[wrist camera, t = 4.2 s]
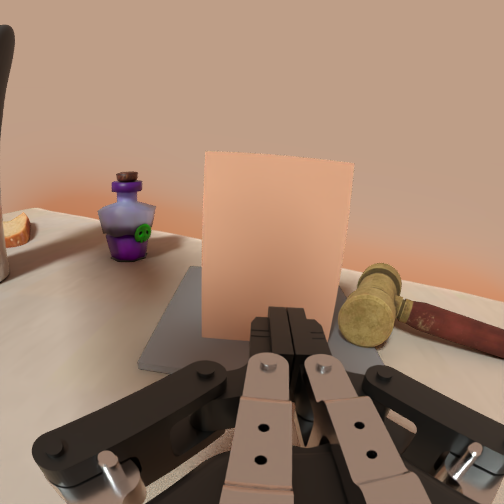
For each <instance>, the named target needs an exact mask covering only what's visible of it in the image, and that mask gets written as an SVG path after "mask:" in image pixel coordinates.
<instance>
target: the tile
mask: <svg viewBox="0 0 504 504" xmlns="http://www.w3.org/2000/svg"><path fill="white" fill-rule="evenodd" d="M353 173H354V163H348V162H341V161H333V160H324V159H315V158H305V157H294V156H284V155H271V154H256V153H240V152H218V151H206V152H205V170H204V194H203V225H202V337H204V338H215V339H228V340H242V341H250V329H251V322H252V321H253V320H254V318H255V317H267V315H268V307H269V306H274V307H295V308H304V311H305V315H306V318H307V319H315V320H316V321H317V322H318V323H319V324H320V325H322V328H323V331H324V334H325V337H326V340H327V342H328V338H329V333H330V328H331V323H332V318H333V313H334V308H335V302H336V297H337V291H338V286H339V280H340V274H341V268H342V261H343V254H344V247H345V241H346V234H347V226H348V219H349V210H350V202H351V193H352V183H353Z"/></svg>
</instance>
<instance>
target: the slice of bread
mask: <svg viewBox="0 0 504 504" xmlns="http://www.w3.org/2000/svg"><path fill="white" fill-rule="evenodd" d="M3 228H4V237H5V245H6V248H10V247H17V246H21V245H24V244H26V243H27V241H28V240H29V238H30V221H29V219H28V217H27V216H26V214H25V213H24V212H23V213H22V214H21V215H19V216H18V217H16V218H14V219H13V220H11V221H8V222H3Z"/></svg>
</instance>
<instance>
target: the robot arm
mask: <svg viewBox="0 0 504 504" xmlns="http://www.w3.org/2000/svg"><path fill="white" fill-rule="evenodd" d="M14 45H15V36H14V31H13V29H12V27H10V26H9V25H0V135H1V125H2V117H3V108H4V99H5V93H6V88H7V82H8V78H9V73H10V69H11V64H12V59H13V53H14ZM8 274H9V265H8V259H7V252H6V245H5V237H4V228H3V219H2V207H1V190H0V281H2V280H3V279H5V278H6V277H7V276H8ZM292 402H295V411H294V416H293V418H294V423H295V427H296V432H297V436H298V440H299V445H300V447H297V446H292ZM390 409H391V410H393V411H395V412H396V413H398V414H400V415H402V416H403V417H405V418H407V419H408V420H410V421H412V422H413V423H414V424H415V425H416V427H417V433H416V434H414V433H412V432H410V431H408V430H407V429H405V428H403V427H402V426H400V425H398V424H397V423H395V422H393V421H392V420H390V419H388V418H387V415H388V413H389V411H390ZM229 428H235V430H234V436H233V441H232V446H231V451H228V452H224V453H221V454H218V455H216V456H213V457H211V458H209V459H208V460H206V461H204V462H203V463H201V464H200V465H198V466H197V467H196V468H195V469H193V470H192V471H191V472H189V473H188V474H187V475H185V476H184V477H183V478H181V479H180V480H179V481H177V482H176V483H174V484H173V485H172V486H170V487H169V488H168V489H166V490H165V491H163V492H162V493H160V494H159V495H157V496H156V497H155V498H153V499H152V500H150V501H149V502H147V503H146V504H492V502H493V500H494V498H495V496H496V493H497V491H498V489H499V487H500V484H501V482H502V479H503V477H504V425H503V424H501V423H498V422H496V421H494V420H492V419H490V418H488V417H486V416H484V415H482V414H480V413H478V412H476V411H474V410H472V409H470V408H468V407H466V406H464V405H462V404H460V403H458V402H456V401H454V400H452V399H451V398H449V397H447V396H445V395H443V394H441V393H439V392H437V391H435V390H433V389H431V388H429V387H427V386H426V385H424V384H422V383H420V382H418V381H416V380H414V379H412V378H410V377H408V376H407V375H405V374H403V373H401V372H399V371H397V370H395V369H394V368H391V367H389V366H385V365H374V366H371V367H369V368H368V369H367V370H366V373H365V375H363V374H358V373H353V372H349V371H346V370H345V369H344V367H343V364H342V363H341V362H340V361H339V360H338V359H337V358H335V357H333V356H332V354H331V351H330V348H329V345H328V342H327V340H326V337H325V334H324V331H323V328H322V325H320V324H319V323H318V322H317V321H316V320H315V319H307V318H306V315H305V311H304V308H295V307H274V306H269V307H268V315H267V317H255V318H254V320H253V321H252V322H251V329H250V342H249V360H248V363H247V364H246V365H245V366H243V367H241V368H239V369H235V370H230V371H226V369H225V367H223V366H222V365H221V364H219V363H217V362H214V361H209V360H202V361H196V362H193V363H191V364H189V365H187V366H186V367H184V368H182V369H180V370H178V371H176V372H174V373H172V374H170V375H168V376H167V377H165V378H163V379H161V380H159V381H157V382H155V383H153V384H151V385H149V386H147V387H145V388H143V389H141V390H139V391H137V392H135V393H133V394H131V395H129V396H127V397H125V398H123V399H121V400H118V401H116V402H114V403H112V404H110V405H108V406H106V407H104V408H101V409H99V410H97V411H95V412H93V413H91V414H88V415H86V416H84V417H82V418H80V419H77V420H75V421H73V422H70V423H68V424H66V425H64V426H61V427H59V428H57V429H54V430H52V431H49V432H47V433H45V434H43V435H41V436H40V437H38V438H37V439H36V441H35V442H34V444H33V447H32V455H33V458H34V460H35V462H36V463H37V465H38V466H39V467H40V469H41V470H42V472H43V473H44V476H45V478H46V479H47V480H48V482H49V483H50V484H51V486H52V487H53V488H54V489H55V491H56V492H57V493H58V494H59V496H60V497H61V498H62V499H63V500H65V501H66V503H67V504H143V502H144V501H145V499H146V495H147V492H146V488H145V487H146V486H148V485H150V484H151V483H153V482H154V481H156V480H158V479H159V478H161V477H162V476H164V475H166V474H167V473H169V472H170V471H172V470H173V469H175V468H176V467H178V466H179V465H181V464H182V463H184V462H185V461H187V460H188V459H190V458H191V457H193V456H194V455H195V454H197V453H198V452H200V451H201V450H203V449H204V448H205V447H207V446H208V445H210V444H211V443H212V442H214V441H215V440H216V439H218V438H219V437H220V436H222V435H223V434H224V432H225V430H226V429H229Z"/></svg>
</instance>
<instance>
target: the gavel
mask: <svg viewBox="0 0 504 504" xmlns="http://www.w3.org/2000/svg"><path fill="white" fill-rule="evenodd" d="M401 287H402V282H401V278H400V275H399V273H398V272H397V270H396V269H395V268H393V267H392V266H390V265H388V264H384V263H377V264H373V265H371V266H369V267H368V268H367V269H366V270H365V271H364V272H363V274H362V276H361V277H360V279H359V281H358V285H357V290H356V291H354V292H353V293H351V294H350V295H349V296H348V298H347V299H346V301H345V302H344V304H343V305H342V307H341V309H340V311H339V315H338V325H339V329H340V331H341V333H342V335H343V336H344V337H345V338H346V339H347V340H348V341H349V342H350V343H352V344H354V345H356V346H359V347H366V348H368V347H374V346H378V345H380V344H381V343H383V342H384V341H385V340H387V338H388V337H389V336H390V334H391V332H392V330H393V326H394V322H395V320H396V318H397V319H398V321H400V322H403V323H406V324H408V325H409V326H411V327H413V328H415V329H417V330H420V331H423V332H426V333H429V334H432V335H434V336H437V337H440V338H443V339H446V340H449V341H452V342H455V343H459V344H462V345H465V346H468V347H471V348H474V349H477V350H480V351H483V352H486V353H489V354H492V355H495V356H498V357H502V358H504V329H501V328H498V327H495V326H492V325H489V324H486V323H483V322H480V321H477V320H474V319H472V318H469V317H466V316H463V315H460V314H457V313H454V312H451V311H448V310H445V309H442V308H439V307H436V306H433V305H430V304H427V303H423V302H416V301H411V300H408V299H405V300H403V297H400V292H401Z"/></svg>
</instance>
